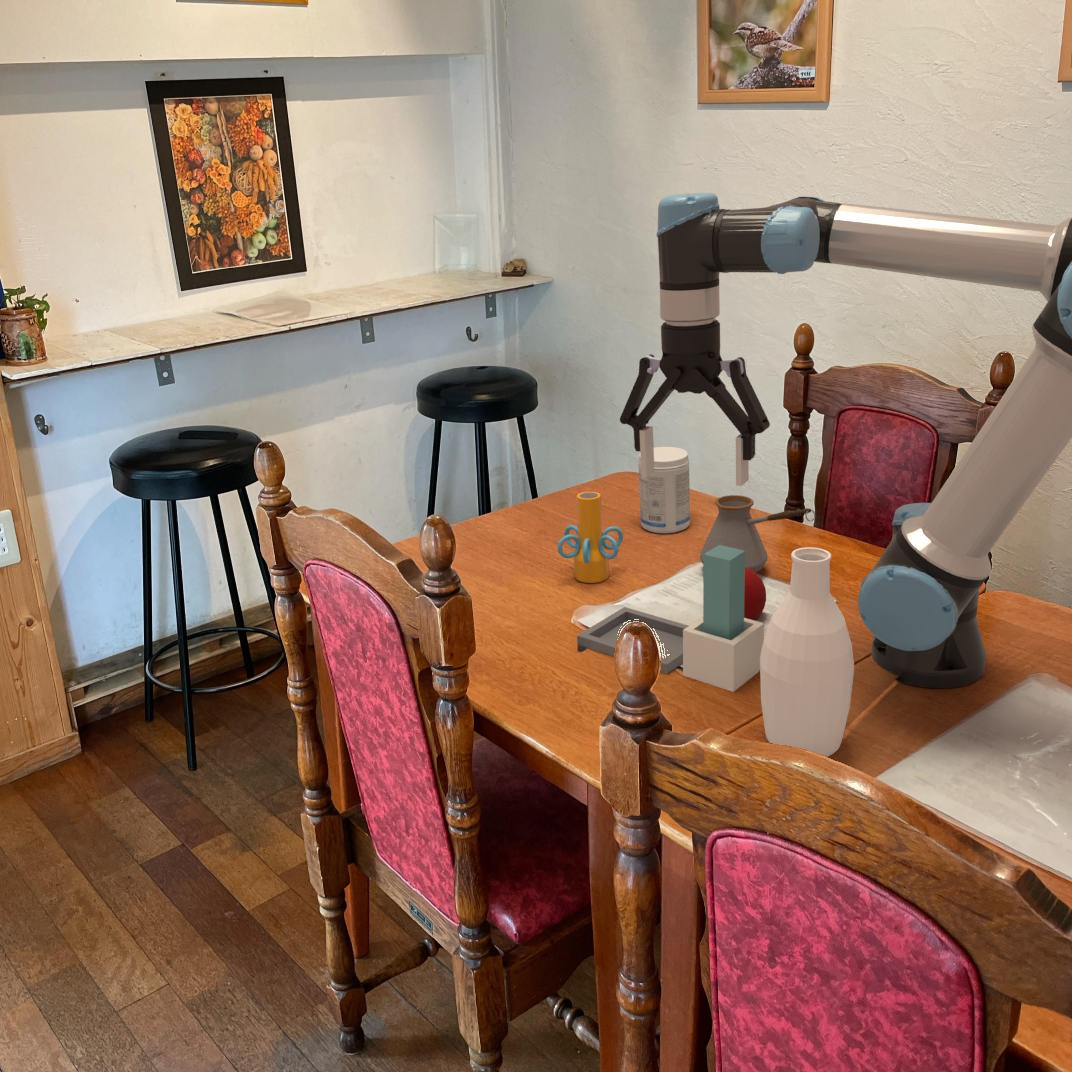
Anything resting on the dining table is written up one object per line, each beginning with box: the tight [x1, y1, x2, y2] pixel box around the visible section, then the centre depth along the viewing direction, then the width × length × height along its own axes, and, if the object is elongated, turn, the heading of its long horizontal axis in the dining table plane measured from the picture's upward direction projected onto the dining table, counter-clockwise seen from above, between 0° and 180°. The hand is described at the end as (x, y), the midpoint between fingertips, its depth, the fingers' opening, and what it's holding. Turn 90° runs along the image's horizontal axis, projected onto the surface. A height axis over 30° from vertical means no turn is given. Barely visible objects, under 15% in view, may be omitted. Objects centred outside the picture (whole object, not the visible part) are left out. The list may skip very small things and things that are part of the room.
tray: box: [576, 606, 689, 675], centre depth 158 cm, size 16×12×2 cm
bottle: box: [759, 546, 855, 758], centre depth 128 cm, size 11×11×25 cm
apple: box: [744, 568, 767, 621], centre depth 164 cm, size 9×9×10 cm
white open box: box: [682, 616, 765, 693], centre depth 147 cm, size 8×8×8 cm
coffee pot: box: [699, 494, 816, 573], centre depth 177 cm, size 21×12×15 cm, turn 41°
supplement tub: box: [638, 446, 691, 534], centre depth 203 cm, size 10×10×15 cm
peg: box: [702, 545, 745, 640], centre depth 145 cm, size 4×4×18 cm
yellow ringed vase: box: [557, 491, 624, 584], centre depth 181 cm, size 12×10×15 cm
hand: (694, 478), depth 143 cm, fingers open, 13 cm apart
